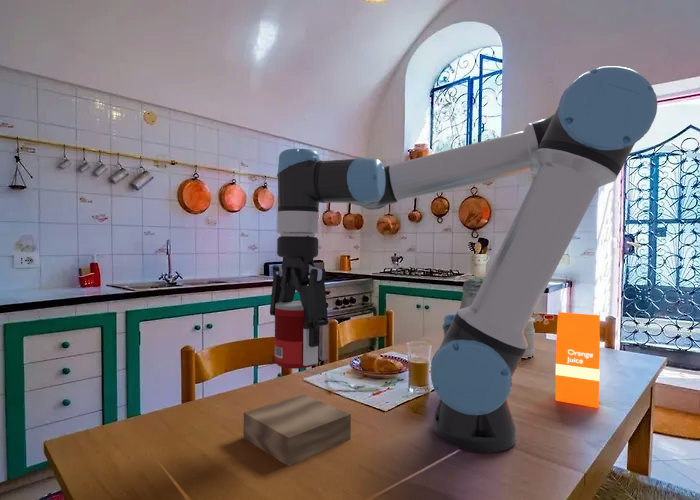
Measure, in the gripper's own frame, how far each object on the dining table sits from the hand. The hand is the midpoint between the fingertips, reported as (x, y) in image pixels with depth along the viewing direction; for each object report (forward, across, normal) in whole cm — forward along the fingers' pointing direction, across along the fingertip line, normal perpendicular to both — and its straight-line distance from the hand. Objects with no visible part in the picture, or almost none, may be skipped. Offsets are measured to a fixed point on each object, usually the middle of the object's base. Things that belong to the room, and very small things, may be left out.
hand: (296, 358), depth 79 cm
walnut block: (+15, 0, 0) cm, 15 cm away
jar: (+15, +4, -88) cm, 89 cm away
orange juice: (+15, -26, -61) cm, 68 cm away
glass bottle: (+15, -8, -48) cm, 51 cm away
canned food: (+1, 0, 0) cm, 1 cm away
